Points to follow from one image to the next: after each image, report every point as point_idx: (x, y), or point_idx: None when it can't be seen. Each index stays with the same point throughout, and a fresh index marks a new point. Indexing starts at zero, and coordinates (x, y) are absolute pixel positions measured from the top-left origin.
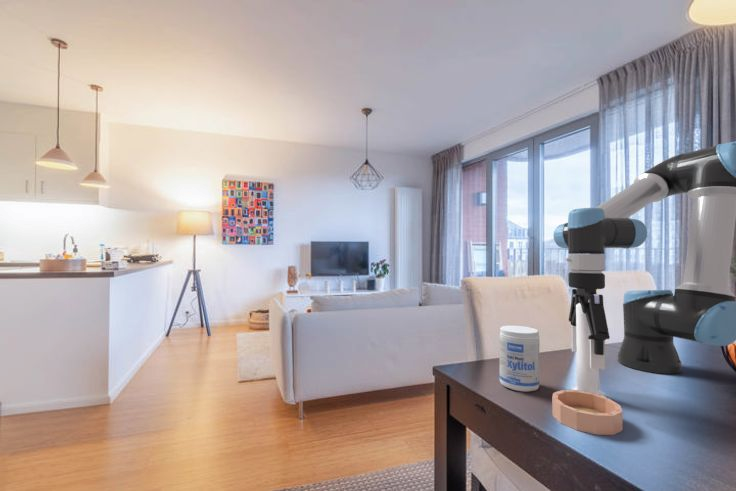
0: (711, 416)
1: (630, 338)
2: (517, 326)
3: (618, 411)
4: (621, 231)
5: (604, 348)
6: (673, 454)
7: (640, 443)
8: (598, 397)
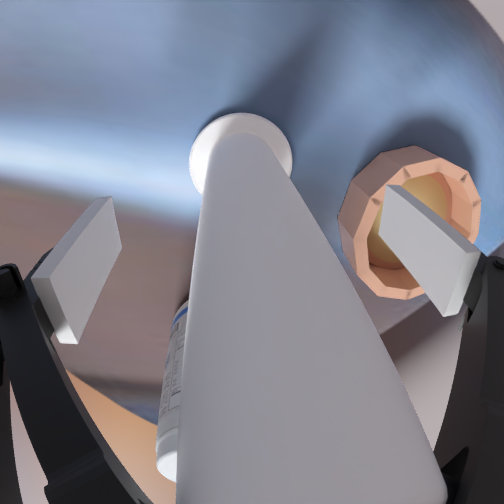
0: None
1: None
2: (175, 472)
3: (467, 180)
4: None
5: (451, 228)
6: (498, 115)
7: (477, 150)
8: None
